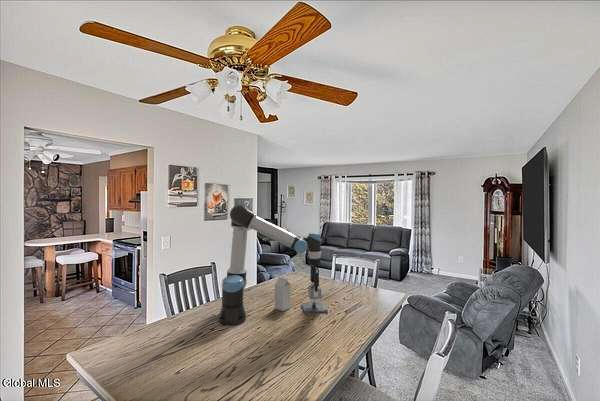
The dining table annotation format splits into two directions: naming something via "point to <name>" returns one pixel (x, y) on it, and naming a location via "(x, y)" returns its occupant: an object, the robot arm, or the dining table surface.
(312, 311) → the shaft stand
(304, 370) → the dining table surface
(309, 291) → the grey square sleeve
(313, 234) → the robot arm
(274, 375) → the dining table surface
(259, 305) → the dining table surface
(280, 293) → the milk carton
